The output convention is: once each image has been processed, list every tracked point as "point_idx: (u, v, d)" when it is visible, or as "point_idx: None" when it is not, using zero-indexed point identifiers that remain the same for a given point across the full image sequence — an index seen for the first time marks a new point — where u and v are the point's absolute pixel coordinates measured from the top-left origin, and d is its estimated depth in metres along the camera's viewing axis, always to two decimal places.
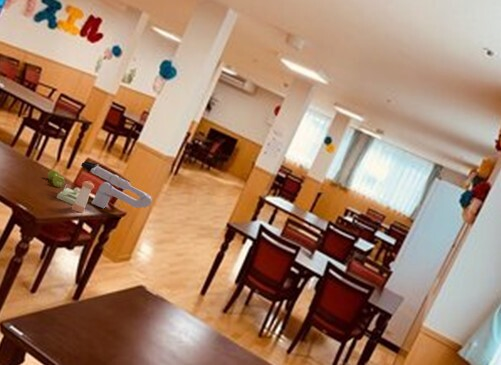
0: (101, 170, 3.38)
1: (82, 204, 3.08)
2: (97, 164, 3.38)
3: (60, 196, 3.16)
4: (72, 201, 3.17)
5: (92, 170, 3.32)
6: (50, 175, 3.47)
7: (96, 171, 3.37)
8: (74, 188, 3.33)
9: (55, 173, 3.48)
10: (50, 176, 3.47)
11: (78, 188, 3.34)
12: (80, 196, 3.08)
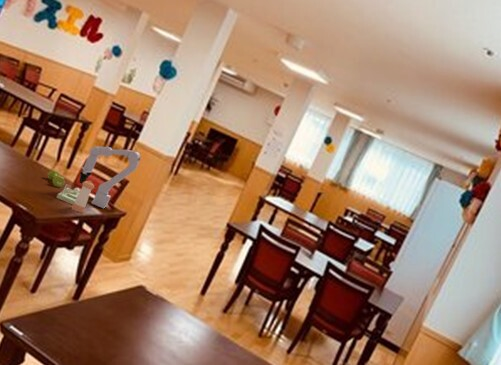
0: (86, 164, 3.37)
1: (82, 204, 3.08)
2: None
3: (60, 196, 3.16)
4: (72, 201, 3.17)
5: (84, 172, 3.33)
6: (50, 175, 3.47)
7: (87, 168, 3.37)
8: (74, 188, 3.33)
9: (55, 173, 3.48)
10: (50, 176, 3.47)
11: (78, 188, 3.34)
12: (80, 196, 3.08)
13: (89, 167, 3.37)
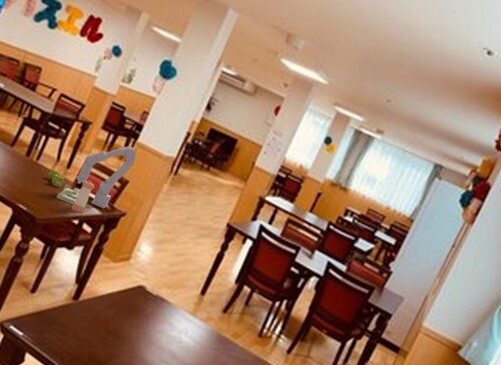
0: (81, 173, 3.33)
1: (82, 204, 3.08)
2: None
3: (60, 196, 3.16)
4: (72, 201, 3.17)
5: (79, 181, 3.28)
6: (50, 175, 3.47)
7: (82, 178, 3.33)
8: (74, 188, 3.33)
9: (55, 173, 3.48)
10: (50, 176, 3.47)
11: (78, 188, 3.33)
12: (80, 196, 3.08)
13: (84, 176, 3.33)
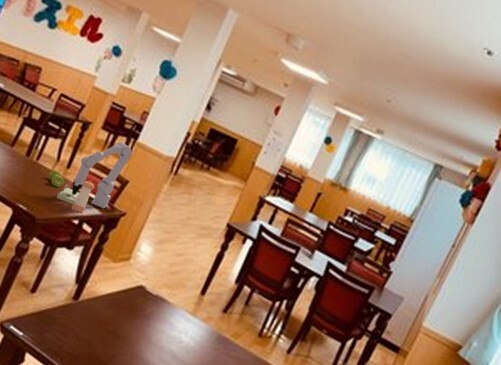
0: (78, 175, 3.24)
1: (82, 204, 3.08)
2: None
3: (60, 196, 3.16)
4: (72, 201, 3.17)
5: (76, 184, 3.20)
6: (51, 175, 3.47)
7: (79, 180, 3.24)
8: (72, 194, 3.24)
9: (56, 173, 3.48)
10: (51, 176, 3.48)
11: (75, 196, 3.26)
12: (80, 196, 3.08)
13: (81, 178, 3.24)
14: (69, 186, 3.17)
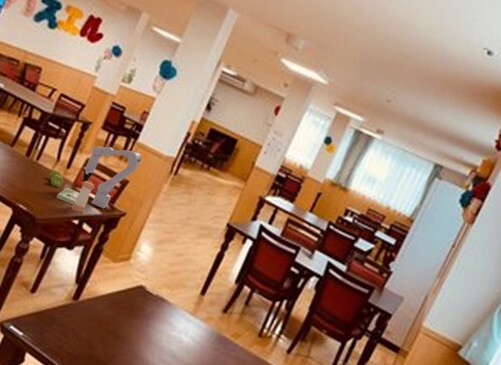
0: (88, 164, 3.40)
1: (82, 204, 3.08)
2: None
3: (60, 196, 3.16)
4: (72, 201, 3.17)
5: (86, 172, 3.36)
6: (51, 175, 3.48)
7: (89, 168, 3.40)
8: (72, 194, 3.24)
9: (56, 173, 3.48)
10: (51, 176, 3.48)
11: None
12: (80, 196, 3.08)
13: (91, 167, 3.40)
14: (69, 186, 3.17)
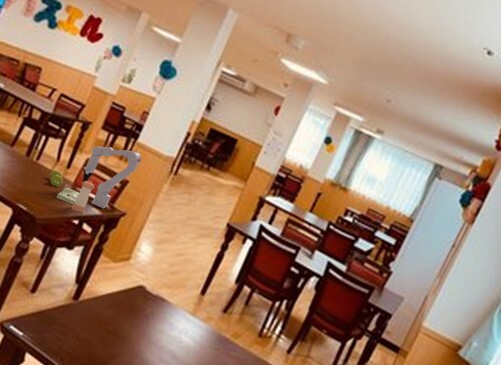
0: (88, 164, 3.40)
1: (82, 204, 3.08)
2: None
3: (60, 196, 3.16)
4: (72, 201, 3.17)
5: (86, 172, 3.36)
6: (52, 175, 3.48)
7: (89, 168, 3.40)
8: (71, 194, 3.24)
9: (57, 173, 3.48)
10: (52, 176, 3.48)
11: (75, 196, 3.26)
12: (80, 196, 3.08)
13: (91, 167, 3.40)
14: (69, 186, 3.17)
